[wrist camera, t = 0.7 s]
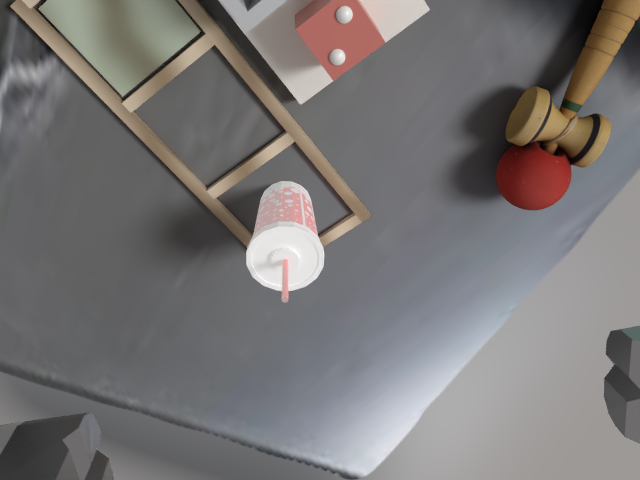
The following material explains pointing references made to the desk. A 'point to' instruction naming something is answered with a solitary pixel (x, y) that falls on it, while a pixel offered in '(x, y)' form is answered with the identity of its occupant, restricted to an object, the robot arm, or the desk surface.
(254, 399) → the desk surface
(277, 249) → the beverage cup
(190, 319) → the desk surface
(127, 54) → the wooden window frame
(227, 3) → the dome housing
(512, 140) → the kendama
